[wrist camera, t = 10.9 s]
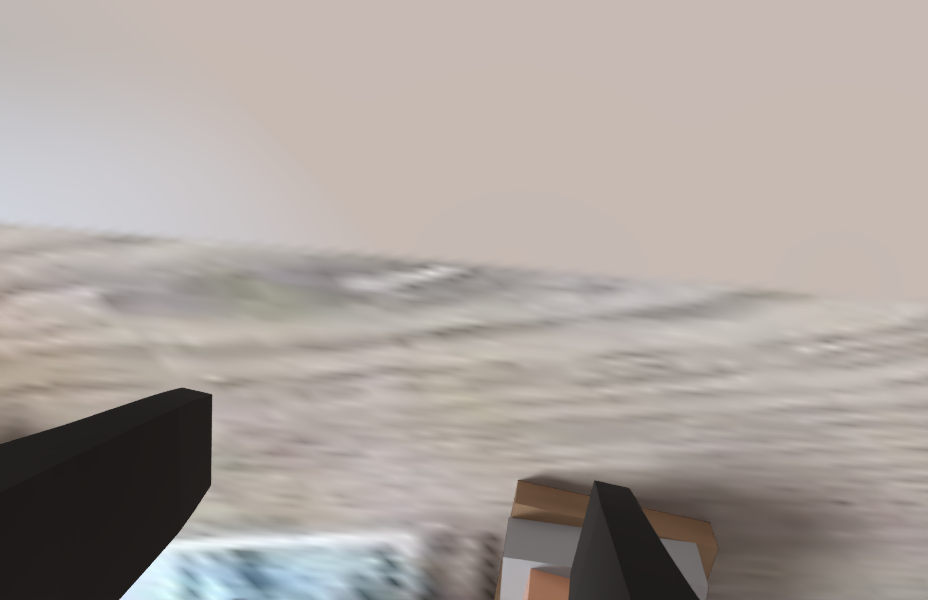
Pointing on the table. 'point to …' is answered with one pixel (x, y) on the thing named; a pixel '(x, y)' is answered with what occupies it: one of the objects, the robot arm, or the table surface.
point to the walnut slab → (572, 509)
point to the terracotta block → (546, 586)
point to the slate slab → (572, 556)
